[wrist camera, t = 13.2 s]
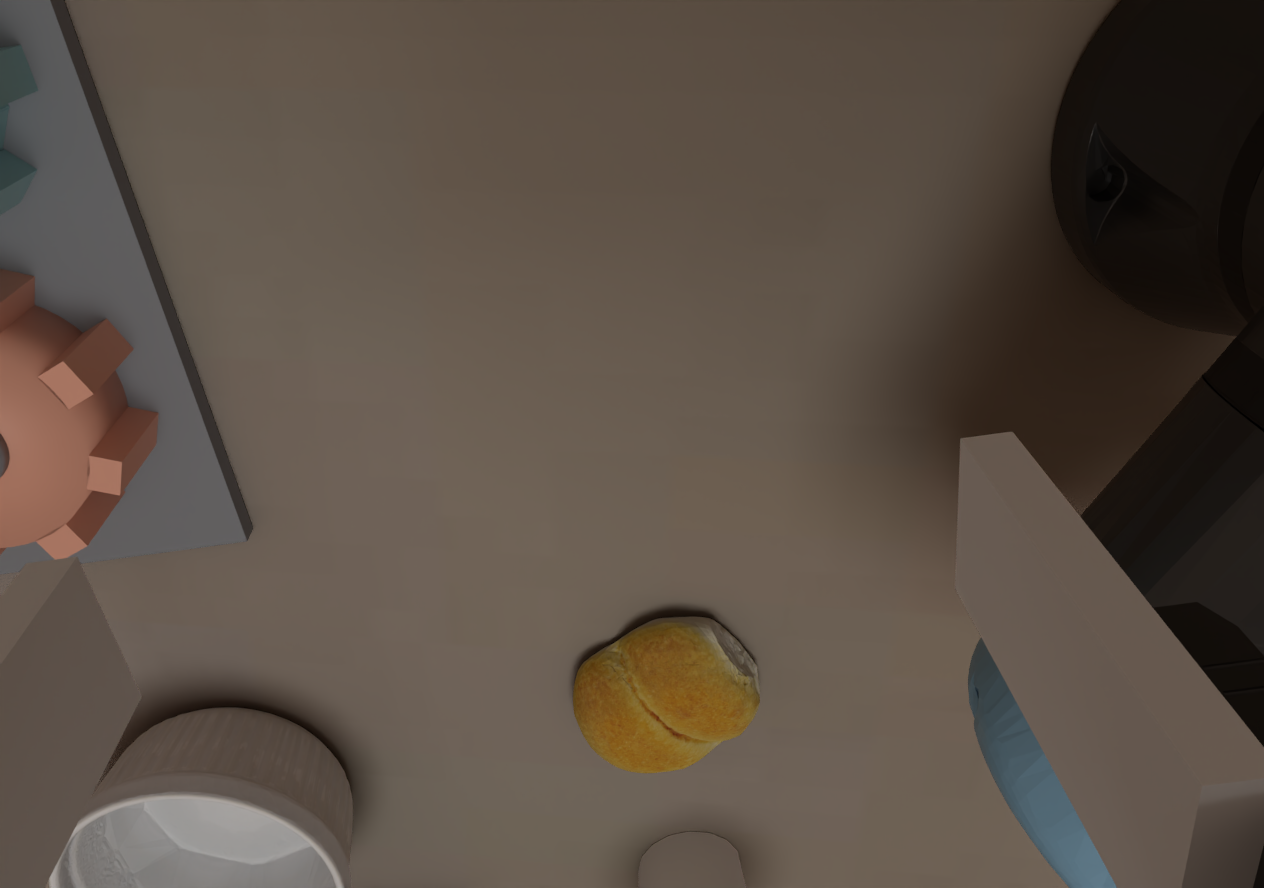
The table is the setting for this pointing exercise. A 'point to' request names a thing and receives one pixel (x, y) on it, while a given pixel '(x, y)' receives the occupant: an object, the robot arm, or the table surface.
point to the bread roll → (666, 694)
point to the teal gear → (5, 81)
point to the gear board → (111, 284)
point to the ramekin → (216, 809)
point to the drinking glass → (691, 863)
